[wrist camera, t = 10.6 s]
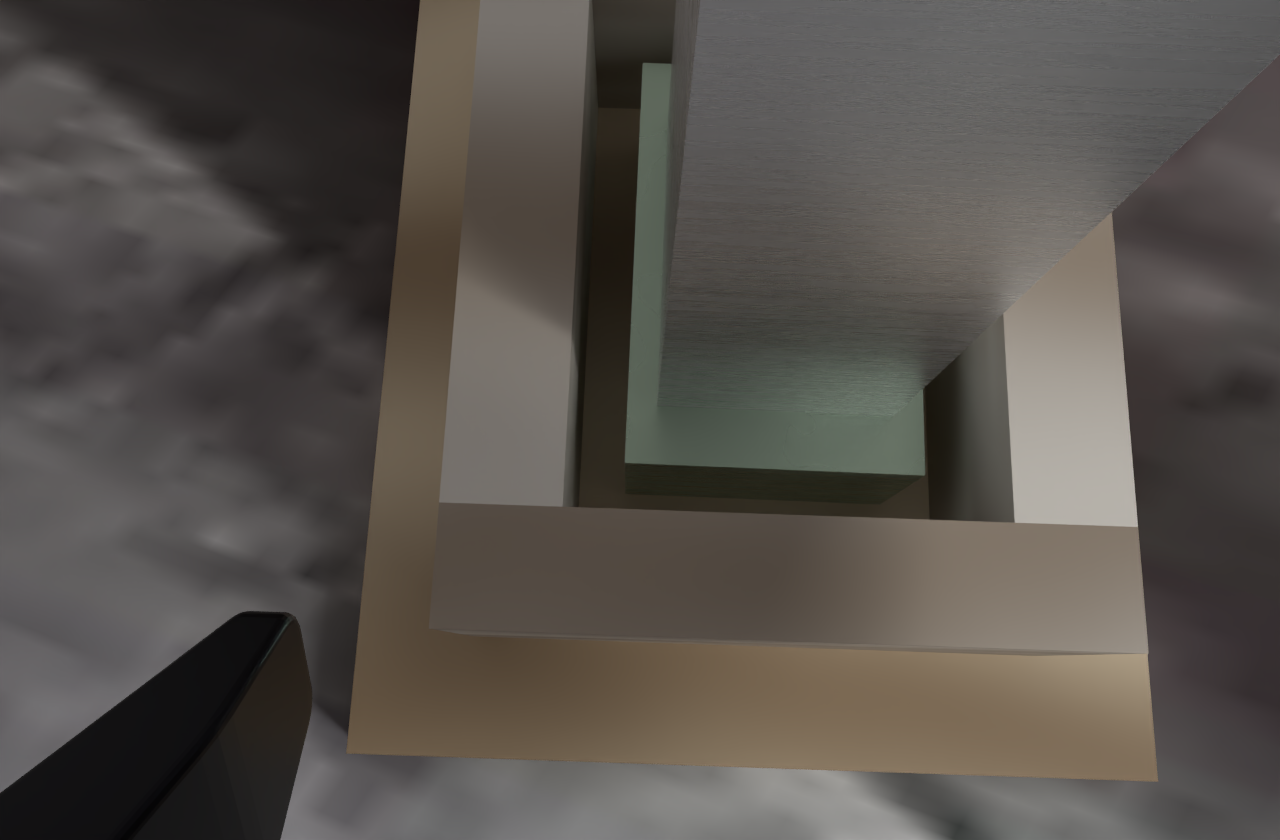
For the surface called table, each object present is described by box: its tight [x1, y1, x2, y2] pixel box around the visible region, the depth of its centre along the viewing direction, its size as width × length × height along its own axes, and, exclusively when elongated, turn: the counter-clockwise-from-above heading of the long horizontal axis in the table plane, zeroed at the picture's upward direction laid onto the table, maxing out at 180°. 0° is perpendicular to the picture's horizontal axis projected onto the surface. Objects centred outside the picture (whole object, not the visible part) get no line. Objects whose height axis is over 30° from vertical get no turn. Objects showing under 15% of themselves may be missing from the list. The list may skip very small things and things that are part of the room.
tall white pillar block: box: [625, 0, 1280, 505], centre depth 10 cm, size 6×4×14 cm, turn 178°
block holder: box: [346, 0, 1158, 782], centre depth 15 cm, size 14×12×4 cm
